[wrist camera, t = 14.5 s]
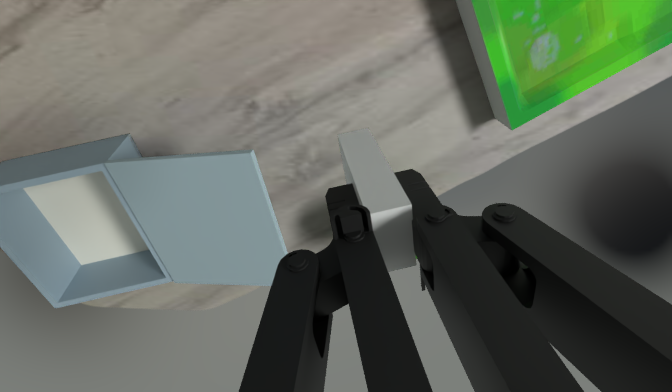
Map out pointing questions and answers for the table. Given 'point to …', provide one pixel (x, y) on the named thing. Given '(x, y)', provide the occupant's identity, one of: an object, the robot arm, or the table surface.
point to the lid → (204, 215)
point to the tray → (557, 47)
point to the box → (75, 224)
